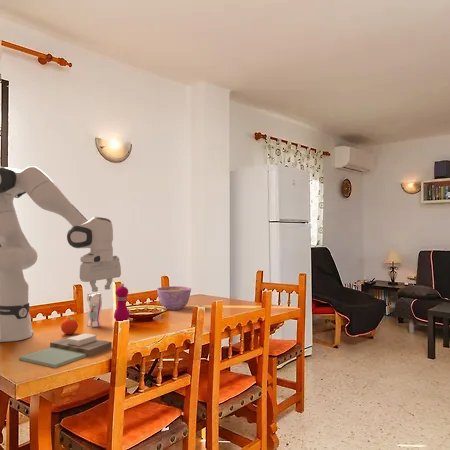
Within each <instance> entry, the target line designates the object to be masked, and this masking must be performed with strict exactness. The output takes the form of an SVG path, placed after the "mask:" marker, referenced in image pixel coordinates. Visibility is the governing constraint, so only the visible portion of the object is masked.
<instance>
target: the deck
mask: <svg viewBox="0 0 450 450" xmlns="http://www.w3.org/2000/svg"><path fill="white" fill-rule="evenodd" d="M74 336H75V335H72V336H71V335H70V336H67V337H64V338H61V339H57V340H54V341H51V342H50V343H49V348H50V347H55V348H60V349H65V350H70V351H75V352H80V353H85V354H87V355H86V357H87V358H89V357H92V356H94V355H95V356H96V355H97V354H99V353H103V352H106V351H108V350H112V349H113V346H112V345H113V344H112V343H113V342H112V341H107V340H103V339H97V338H96V341H93V342H89V343H86V344H83V345H80V346H76V345H71V344H67V338H71V337H74Z"/></svg>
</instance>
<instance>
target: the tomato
mask: <svg viewBox="0 0 450 450" xmlns="http://www.w3.org/2000/svg"><path fill="white" fill-rule="evenodd" d="M78 323H79V320H77V319H76V318H74V317H69V318H66V319H64V320H63V321H62V322H61V324H60V328H61V329H60V330H61V331H62V332H63V333H64V334H65V335H73V334H74V333H76V331H77V330H78V325H79V324H78Z"/></svg>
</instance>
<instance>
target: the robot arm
mask: <svg viewBox="0 0 450 450" xmlns="http://www.w3.org/2000/svg"><path fill="white" fill-rule="evenodd" d="M25 194H26V195H28V196H29V198H30V199H31V201H33V203H35V204H36V205H37V207H40V208H41V209H43V210H44V211H48V212H49V213H50V212H51V213H54V214H57V215H59V216H60V217H62V218H64V219H65V220H66V221H67V222H68V223H69V225H70V226H71V227H70V228H69V230H68V231H67V232H66V233H67V234H66V240H67V242H68V244H69V246H70V247H72V248H75V249H90V251H89V252H88V253H86V254H84V255H82V256H80V259H79V260H80V262H81V263H80V265H79V279H80V282H84V283H89V285H90V287H91V292H92V293H97V292H98V291H99V287H98V286H96V284H97V281H102V280H105V281H106V282H105V284H104V290H111V284H112V283H113V279H115V278H120V277H121V276H122V268H121V263H120V258H119V256H117V255H114V254H113V253H114V250H113V249H114V247H113V241H114V229H113V228H114V227H113V223H112V221H111V219H109V218H106V217H100V216H94V217H92V218H91V219H89V220H88V219H87V218H86V217H85V216H84V215H83V214H82V213H81V212H80V211H79V210H78V209H77V207H76V206H74V204H73V203H72V202H71V201H70V200H69V199H68V198H67V197H66V195H64V193H63V192H62V191H61V189H60V188H59V187H58V185H56V183H54V181H53V180H52V179H51V178H50V177H49V176H48V175H47V174H46V173H45V172H44V171H43V170H41V169H40V168H38V167H37V166H34V165H33V166H27V167H25V168H24V169H18V168H16V167H14V168H13V167H3V166H0V343H3V342H4V343H6V342H7V343H8V342H17V341H23V340H26V339H29V338H31V337H32V336H33V334H34V330H33V329H32V319H31V318H32V317H31V314H30V303H29V283H28V282H27V281H26V279H25V276H24V271H23V270H27V269H29V268H31V267H33V266H34V265H35V263H37V260H38V252H37V251H36V249H35V248H34V247H32V245H31V244H30V242H29V240H28V238H27V237H26V235H25V234H24V232H23V230H22V228H21V225H20V221H19V217H18V215H17V212H16V208H15V206H14V199H15V198H17V199H19V198H20V197H22V196H23V195H25Z"/></svg>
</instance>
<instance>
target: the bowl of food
mask: <svg viewBox="0 0 450 450" xmlns="http://www.w3.org/2000/svg"><path fill="white" fill-rule="evenodd" d="M156 291H157V296H158V297H157V298H158V300H159V303H160V305H161V307H163V306H164V307H163V308H165V307H168V309H167V310H168V311H169V310H170V311H176V310H177V311H178V310H181V308H182V309H183V308H184V307H186V306H187V304H188V303H189V300H190V297H191V292H192V288H191V287H189V286H174V285H173V286H162V287H158V288H156Z"/></svg>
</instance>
